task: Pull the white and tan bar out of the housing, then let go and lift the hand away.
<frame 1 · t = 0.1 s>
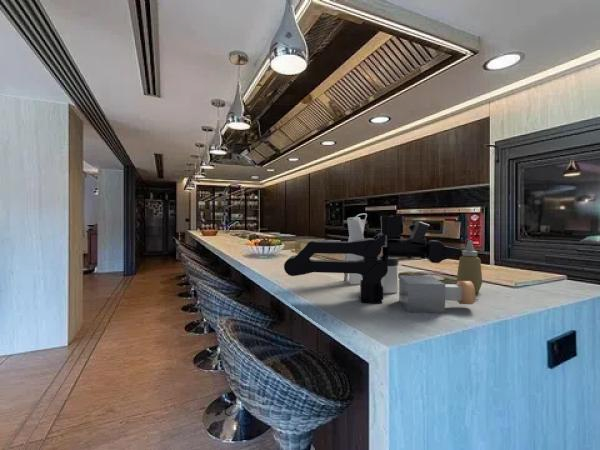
hand: (455, 249, 98), 17 cm above the table, tool horizontal, fingers open, 9 cm apart
jar: (386, 291, 114), on the table
squeeze bottle: (469, 292, 113), on the table
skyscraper: (355, 284, 127), on the table
housing: (420, 306, 95), on the table
white and tan bar: (445, 292, 94), point 5 cm above the table, slide at 0.0 cm
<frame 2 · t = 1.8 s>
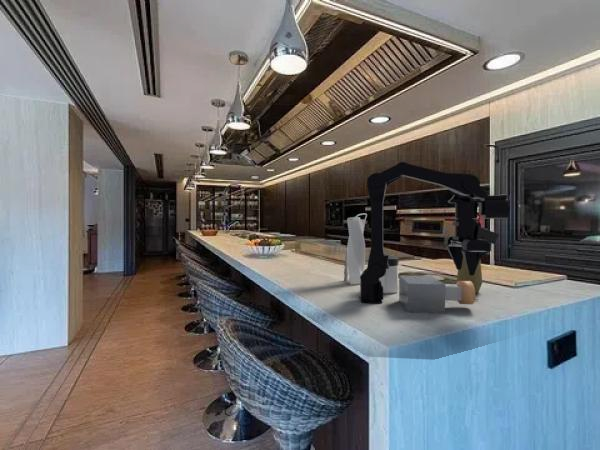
hand: (465, 272, 93), 10 cm above the table, tool pointing down, fingers open, 9 cm apart
nothing on the table moved.
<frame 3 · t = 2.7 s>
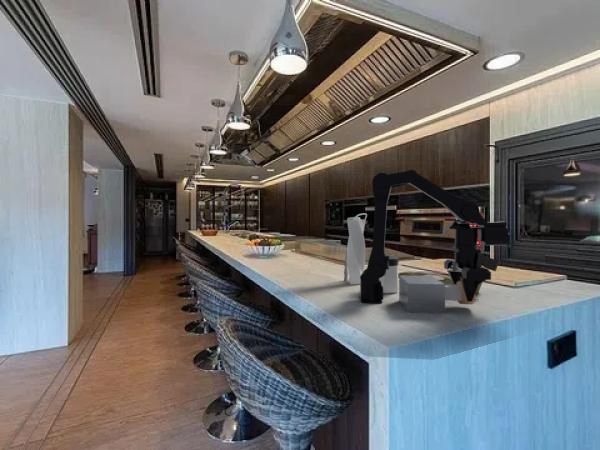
hand: (464, 298, 93), 3 cm above the table, tool pointing down, fingers closed on white and tan bar, 7 cm apart
white and tan bar: (445, 292, 94), point 5 cm above the table, slide at 0.0 cm, touching gripper
everything else where it was.
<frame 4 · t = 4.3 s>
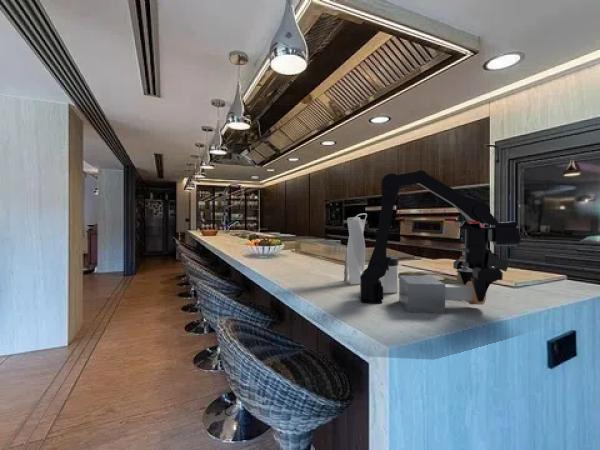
hand: (475, 298, 93), 3 cm above the table, tool pointing down, fingers closed on white and tan bar, 7 cm apart
white and tan bar: (455, 292, 94), point 5 cm above the table, slide at 2.8 cm, touching gripper
everything else where it was.
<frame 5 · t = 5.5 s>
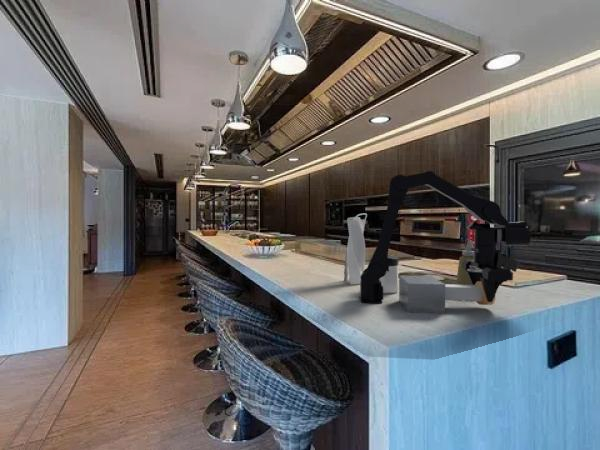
hand: (484, 298, 93), 3 cm above the table, tool pointing down, fingers closed on white and tan bar, 7 cm apart
white and tan bar: (464, 292, 93), point 5 cm above the table, slide at 5.3 cm, touching gripper
everything else where it was.
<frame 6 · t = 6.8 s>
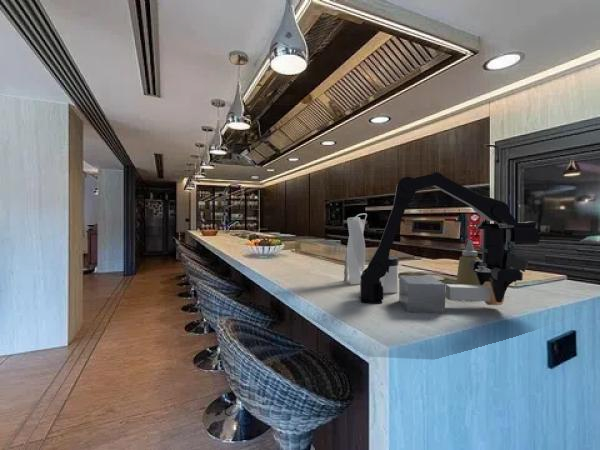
hand: (492, 298, 92), 3 cm above the table, tool pointing down, fingers closed on white and tan bar, 7 cm apart
white and tan bar: (472, 292, 93), point 5 cm above the table, slide at 7.7 cm, touching gripper
everything else where it was.
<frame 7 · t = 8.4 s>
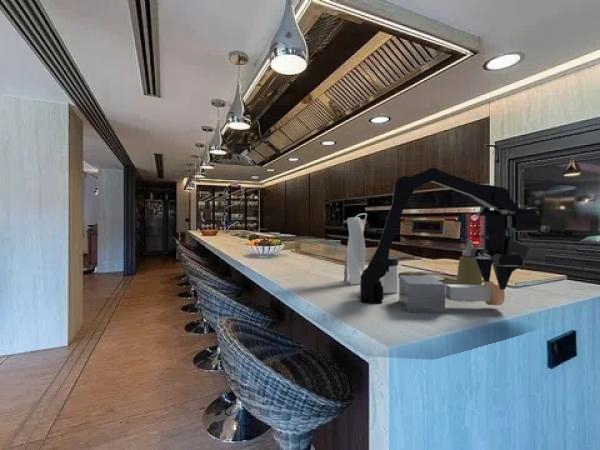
hand: (494, 285, 92), 7 cm above the table, tool pointing down, fingers open, 9 cm apart
white and tan bar: (473, 292, 93), point 5 cm above the table, slide at 7.7 cm
everything else where it was.
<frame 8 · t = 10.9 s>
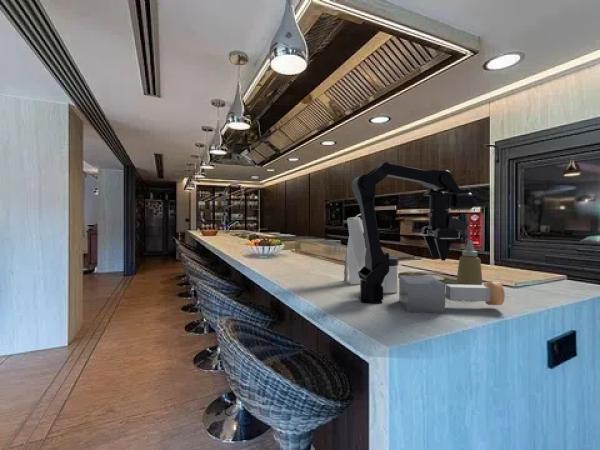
hand: (438, 258, 103), 13 cm above the table, tool pointing down, fingers open, 9 cm apart
nothing on the table moved.
at the end: white and tan bar slide at 7.7 cm; the gripper is holding nothing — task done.
